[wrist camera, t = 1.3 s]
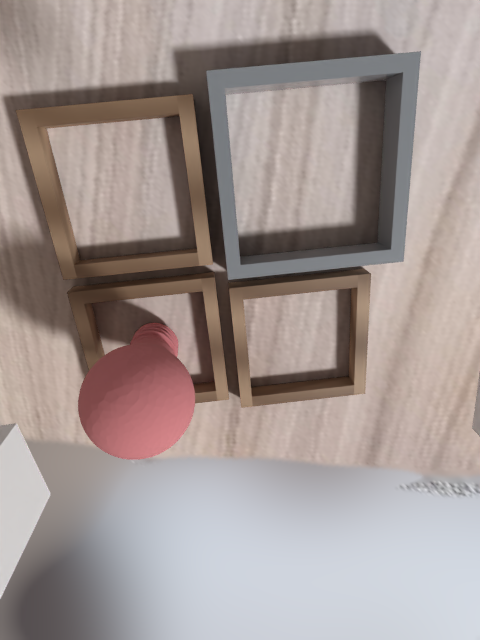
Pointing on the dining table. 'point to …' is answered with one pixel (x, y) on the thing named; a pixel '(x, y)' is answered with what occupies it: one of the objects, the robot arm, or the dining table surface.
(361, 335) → the frame
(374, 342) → the dining table surface
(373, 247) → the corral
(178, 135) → the dining table surface
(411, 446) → the dining table surface
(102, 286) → the frame
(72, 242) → the frame
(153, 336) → the light bulb
